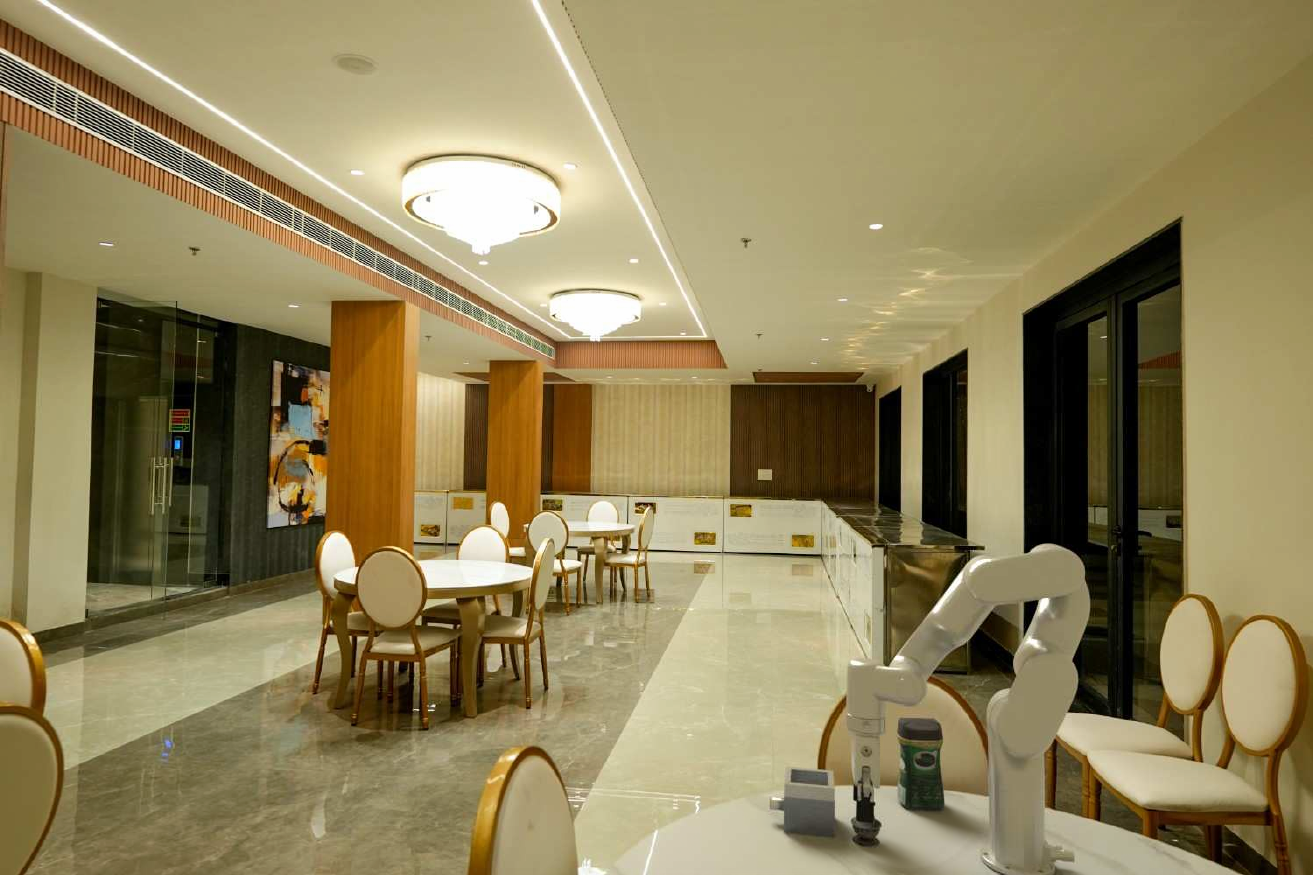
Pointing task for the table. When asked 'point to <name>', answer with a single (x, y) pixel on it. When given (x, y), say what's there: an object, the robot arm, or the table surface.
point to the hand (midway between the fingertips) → (862, 811)
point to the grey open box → (807, 802)
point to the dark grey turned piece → (866, 831)
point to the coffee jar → (920, 764)
